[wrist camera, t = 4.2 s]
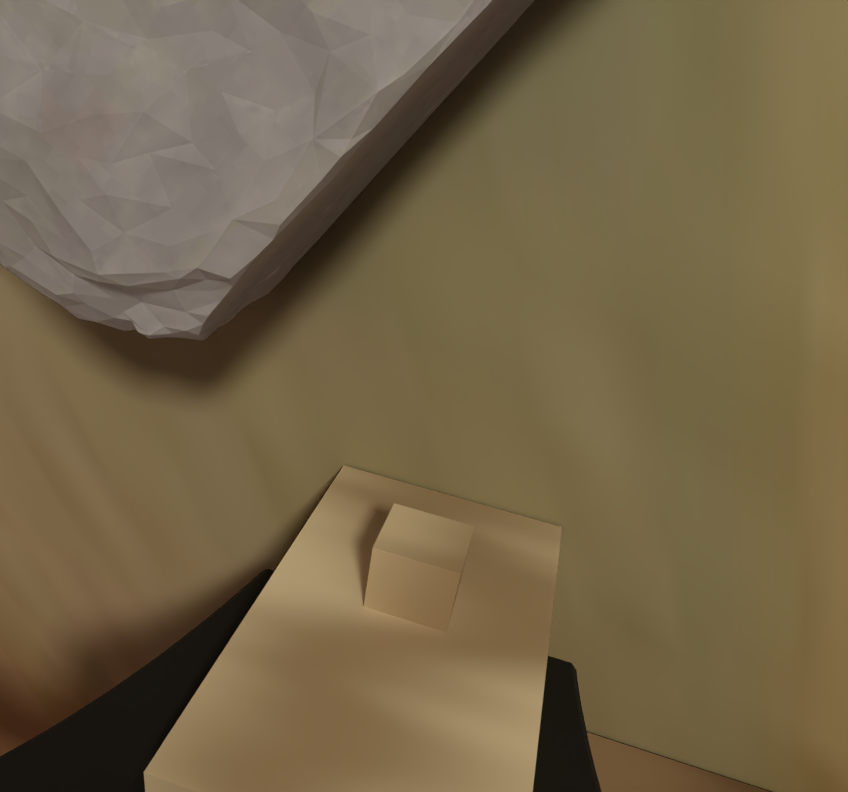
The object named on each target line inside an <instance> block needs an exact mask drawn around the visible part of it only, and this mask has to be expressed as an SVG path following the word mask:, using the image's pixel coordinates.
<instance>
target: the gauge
mask: <svg viewBox="0 0 848 792" xmlns="http://www.w3.org/2000/svg"><path fill="white" fill-rule="evenodd" d="M561 533H562V527H560V526H556V525H553V524H549V523H546V522H542V521H539V520H535V519H532V518H528V517H525V516H521V515H517V514H514V513H510V512H507V511H503V510H500V509H496V508H493V507H489V506H486V505H482V504H479V503H475V502H472V501H468V500H464V499H461V498H457V497H454V496H450V495H447V494H443V493H440V492H436V491H433V490H429V489H426V488H422V487H419V486H415V485H411V484H408V483H404V482H401V481H397V480H394V479H390V478H387V477H383V476H380V475H376V474H373V473H369V472H366V471H362V470H358V469H355V468H351V467H348V466H343V467H342V469H341V470H340V472H339V473H338V475H337V476H336V478H335V479H334V481H333V482H332V484H331V485H330V487H329V489H328V490H327V492H326V493H325V495H324V496H323V498H322V499H321V501H320V502H319V504H318V505H317V507H316V509H315V510H314V512H313V513H312V515H311V516H310V518H309V519H308V521H307V522H306V524H305V525H304V527H303V528H302V530H301V532H300V533H299V535H298V536H297V538H296V539H295V541H294V542H293V544H292V545H291V547H290V548H289V550H288V551H287V553H286V555H285V556H284V558H283V559H282V561H281V562H280V564H279V565H278V567H277V568H276V570H275V571H274V573H273V575H272V576H271V578H270V579H269V581H268V582H267V584H266V585H265V587H264V588H263V590H262V591H261V593H260V594H259V596H258V598H257V599H256V601H255V602H254V604H253V605H252V607H251V608H250V610H249V611H248V613H247V614H246V616H245V617H244V619H243V621H242V622H241V624H240V625H239V627H238V628H237V630H236V631H235V633H234V634H233V636H232V637H231V639H230V640H229V642H228V644H227V645H226V647H225V648H224V650H223V651H222V653H221V654H220V656H219V657H218V659H217V660H216V662H215V664H214V665H213V667H212V668H211V670H210V671H209V673H208V674H207V676H206V677H205V679H204V680H203V682H202V683H201V685H200V687H199V688H198V690H197V691H196V693H195V694H194V696H193V697H192V699H191V700H190V702H189V703H188V705H187V706H186V708H185V710H184V711H183V713H182V714H181V716H180V717H179V719H178V720H177V722H176V723H175V725H174V726H173V728H172V730H171V731H170V733H169V734H168V736H167V737H166V739H165V740H164V742H163V743H162V745H161V746H160V748H159V749H158V751H157V753H156V754H155V756H154V757H153V759H152V760H151V762H150V763H149V765H148V766H147V768H146V769H145V771H144V783H145V792H533V785H534V776H535V767H536V758H537V749H538V740H539V731H540V722H541V713H542V704H543V695H544V686H545V677H546V668H547V659H548V650H549V641H550V632H551V623H552V614H553V605H554V596H555V587H556V578H557V569H558V560H559V551H560V542H561Z"/></svg>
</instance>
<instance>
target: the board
mask: <svg viewBox="0 0 848 792" xmlns="http://www.w3.org/2000/svg"><path fill="white" fill-rule="evenodd" d="M587 736H588V740H589V745H590V749H591V753H592V757H593V761H594V765H595V770H596V773H597V777H598V780H599V784H600V788H601V791H602V792H770V791H767V790H764V789H761V788H758V787H754V786H751V785H748V784H745V783H742V782H739V781H736V780H733V779H730V778H727V777H724V776H721V775H718V774H714V773H711V772H708V771H705V770H702V769H699V768H696V767H693V766H690V765H687V764H684V763H681V762H678V761H674V760H671V759H668V758H665V757H662V756H659V755H656V754H653V753H650V752H647V751H644V750H641V749H638V748H634V747H631V746H628V745H625V744H622V743H619V742H616V741H613V740H610V739H607V738H604V737H601V736H597V735H594V734H591V733H588V732H587Z"/></svg>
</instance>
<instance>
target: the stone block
mask: <svg viewBox="0 0 848 792" xmlns="http://www.w3.org/2000/svg"><path fill="white" fill-rule="evenodd" d="M534 1H535V0H0V264H1V265H3V266H4V267H5V268H6V269H8V270H9V271H10V272H12V273H13V274H15V275H16V276H17V277H19V278H20V279H22V280H23V281H25V282H26V283H27V284H29V285H30V286H32V287H33V288H35V289H36V290H38V291H39V292H40V293H42V294H44V295H45V296H47V297H49V298H50V299H52V300H54V301H56V302H57V303H58V304H60V305H61V306H62V307H64V308H65V309H66V310H67V311H69V312H70V313H71V314H73V315H74V316H75V317H77V318H78V319H83V320H88V321H93V322H97V323H100V324H104V325H107V326H110V327H113V328H116V329H120V330H123V331H129V330H137V331H138V332H139V333H140V334H142V335H144V336H145V337H147V338H149V339H155V338H167V337H169V338H186V339H194V340H202V341H203V340H205V339H206V338H207V337H208V336H210V335H211V334H212V333H213V332H214V331H215V330H216V329H217V328H218V327H220V326H222V325H224V324H226V323H229V322H230V321H231V320H232V319H233V318H234V317H235V316H236V315H237V314H238V313H239V312H240V311H241V310H242V309H243V308H244V307H246V306H247V305H249V304H250V303H251V302H253V301H255V300H257V299H259V298H261V297H263V296H265V295H267V294H268V293H269V292H270V291H272V290H273V289H274V288H275V287H276V286H277V285H278V284H279V283H280V282H281V281H282V280H283V279H284V278H285V276H286V275H287V274H288V273H289V271H290V270H291V269H292V268H293V266H294V265H295V264H296V263H297V262H298V261H299V260H300V259H301V258H302V257H303V256H304V255H305V253H306V252H307V251H308V250H309V249H310V248H311V247H312V246H313V245H314V244H315V243H316V242H317V241H318V240H319V239H320V237H321V236H322V235H323V234H324V233H325V232H326V231H327V230H328V228H329V227H330V226H331V225H332V224H333V223H334V222H335V221H336V220H337V218H338V217H339V216H340V215H341V214H342V213H343V212H344V211H345V210H346V208H347V207H348V206H349V205H350V204H351V203H352V202H353V201H354V199H355V198H356V197H357V196H358V195H359V194H360V193H361V192H362V191H363V189H364V188H365V187H366V186H367V185H368V184H369V183H370V182H371V181H372V179H373V178H374V177H375V176H376V175H377V174H378V173H379V172H380V171H381V169H382V168H383V167H384V166H385V165H386V164H387V163H388V162H389V161H390V159H391V158H392V157H393V156H394V155H395V154H396V153H397V152H398V151H399V149H400V148H401V147H402V146H403V145H404V144H405V143H406V142H407V141H408V140H409V138H410V137H411V136H412V135H413V134H414V133H415V132H416V131H417V130H418V128H419V127H420V126H421V125H422V124H423V123H424V122H425V121H426V120H427V119H428V117H429V116H430V115H431V114H432V113H433V112H434V111H435V110H436V109H437V107H438V106H439V105H440V104H441V103H442V102H443V101H444V100H445V99H446V98H447V97H448V95H449V94H450V93H451V92H452V91H453V90H454V89H455V88H456V87H457V86H458V85H459V84H460V82H461V81H462V80H463V79H464V78H465V77H466V76H467V75H468V74H469V73H470V72H471V71H472V69H473V68H474V67H475V66H476V65H477V64H478V63H479V62H480V61H481V60H482V59H483V58H484V56H485V55H486V54H487V53H488V52H489V51H490V50H491V49H492V48H493V46H494V45H495V44H496V43H497V42H498V41H499V40H500V39H501V38H502V36H503V35H504V34H505V33H506V32H507V31H508V30H509V29H510V27H511V26H512V25H513V24H514V23H515V22H516V21H517V20H518V18H519V17H520V16H521V15H522V14H523V13H524V12H525V11H526V10H527V8H528V7H529V6H530V5H531V4H532V3H533V2H534Z"/></svg>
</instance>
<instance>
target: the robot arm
mask: <svg viewBox="0 0 848 792" xmlns="http://www.w3.org/2000/svg"><path fill="white" fill-rule="evenodd" d="M273 573H274V571H273V570H270V569H267V570H265V571H263V572H261V573H260V574H259V575H258V576H257V577H255V578H254V579H253V580H252V581H251V582H250V583H249V584H247V585H246V586H245V587H244V588H243V589H242V590H241V591H239V592H238V593H237V594H236V595H235V596H234V597H232V598H231V599H230V600H229V601H228V602H226V603H225V604H224V605H223V606H222V607H221V608H219V609H218V610H217V611H216V612H214V613H213V614H212V615H211V616H210V617H208V618H207V619H206V620H205V621H203V622H202V623H201V624H200V625H198V626H197V627H196V628H194V629H193V630H192V631H191V632H189V633H188V634H187V635H185V636H184V637H183V638H182V639H180V640H179V641H178V642H176V643H175V644H174V645H173V646H171V647H170V648H169V649H167V650H166V651H165V652H163V653H162V654H161V655H159V656H158V657H157V658H155V659H154V660H152V661H151V662H150V663H148V664H147V665H145V666H144V667H143V668H141V669H140V670H138V671H137V672H135V673H134V674H133V675H131V676H130V677H128V678H127V679H125V680H124V681H123V682H121V683H120V684H118V685H117V686H116V687H114V688H113V689H111V690H110V691H108V692H107V693H105V694H104V695H102V696H101V697H99V698H98V699H96V700H95V701H93V702H92V703H90V704H88V705H87V706H85V707H84V708H82V709H81V710H79V711H77V712H76V713H74V714H73V715H71V716H69V717H68V718H66V719H64V720H63V721H61V722H60V723H58V724H56V725H55V726H53V727H51V728H50V729H48V730H46V731H45V732H43V733H41V734H40V735H38V736H36V737H34V738H32V739H31V740H29V741H27V742H25V743H24V744H22V745H20V746H18V747H16V748H15V749H13V750H11V751H9V752H7V753H6V754H4V755H2V756H0V792H145V783H144V771H145V769H146V768H147V766H148V765H149V763H150V762H151V760H152V759H153V757H154V756H155V754H156V753H157V751H158V749H159V748H160V746H161V745H162V743H163V742H164V740H165V739H166V737H167V736H168V734H169V733H170V731H171V730H172V728H173V726H174V725H175V723H176V722H177V720H178V719H179V717H180V716H181V714H182V713H183V711H184V710H185V708H186V706H187V705H188V703H189V702H190V700H191V699H192V697H193V696H194V694H195V693H196V691H197V690H198V688H199V687H200V685H201V683H202V682H203V680H204V679H205V677H206V676H207V674H208V673H209V671H210V670H211V668H212V667H213V665H214V664H215V662H216V660H217V659H218V657H219V656H220V654H221V653H222V651H223V650H224V648H225V647H226V645H227V644H228V642H229V640H230V639H231V637H232V636H233V634H234V633H235V631H236V630H237V628H238V627H239V625H240V624H241V622H242V621H243V619H244V617H245V616H246V614H247V613H248V611H249V610H250V608H251V607H252V605H253V604H254V602H255V601H256V599H257V598H258V596H259V594H260V593H261V591H262V590H263V588H264V587H265V585H266V584H267V582H268V581H269V579H270V578H271V576H272V575H273ZM533 792H602V791H601V788H600V784H599V780H598V777H597V773H596V770H595V765H594V761H593V757H592V753H591V749H590V745H589V740H588V736H587V731H586V727H585V722H584V717H583V712H582V706H581V701H580V695H579V688H578V681H577V673H576V669H575V668H574V666H573V665H572V663H569V662H566V661H563V660H560V659H556V658H553V657H550V656H548V659H547V668H546V677H545V686H544V695H543V704H542V713H541V722H540V731H539V740H538V749H537V758H536V767H535V776H534V785H533Z"/></svg>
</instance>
